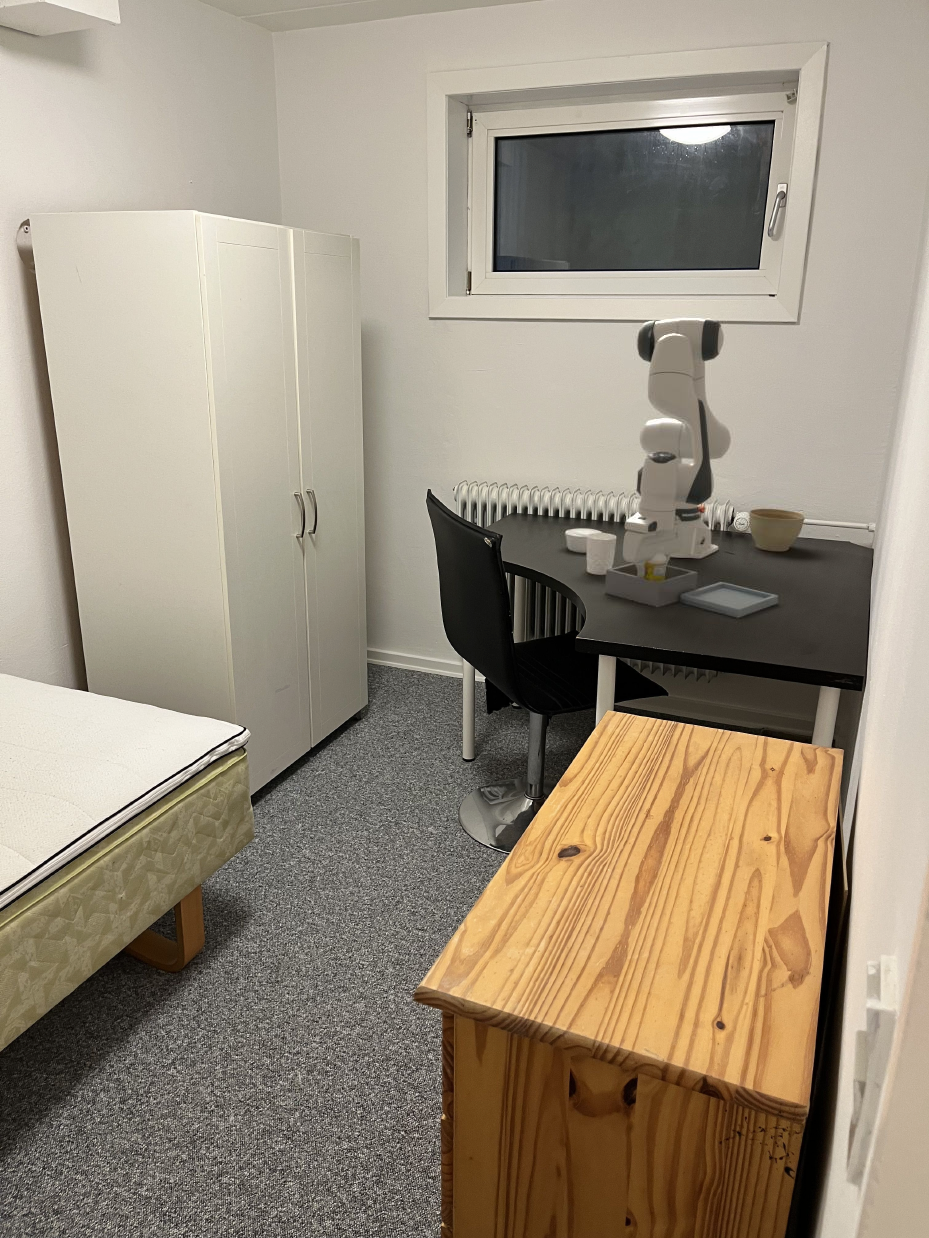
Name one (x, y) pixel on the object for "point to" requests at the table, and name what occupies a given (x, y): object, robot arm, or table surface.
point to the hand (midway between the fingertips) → (651, 574)
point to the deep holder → (649, 585)
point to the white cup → (600, 552)
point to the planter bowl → (775, 528)
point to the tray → (729, 599)
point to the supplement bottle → (656, 566)
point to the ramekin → (578, 539)
